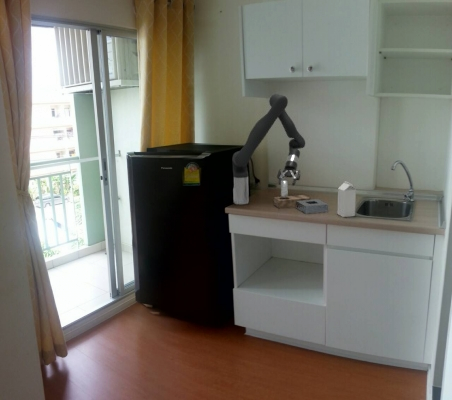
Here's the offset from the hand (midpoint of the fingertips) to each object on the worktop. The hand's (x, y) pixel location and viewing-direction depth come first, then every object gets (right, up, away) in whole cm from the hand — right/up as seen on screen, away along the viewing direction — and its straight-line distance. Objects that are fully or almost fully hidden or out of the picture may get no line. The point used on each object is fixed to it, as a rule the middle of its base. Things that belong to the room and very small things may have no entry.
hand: (286, 184), depth 256 cm
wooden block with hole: (+4, -13, 0) cm, 14 cm away
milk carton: (+30, -18, -25) cm, 43 cm away
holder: (+13, -16, -12) cm, 24 cm away
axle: (-1, -13, -1) cm, 14 cm away
